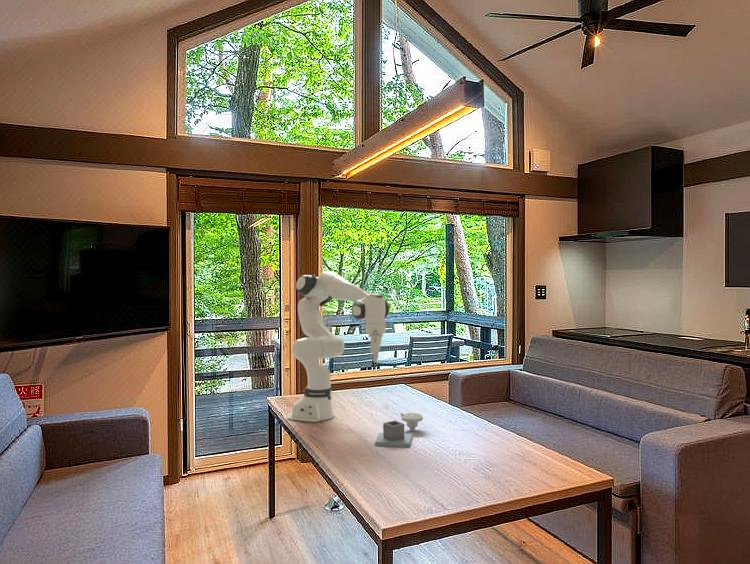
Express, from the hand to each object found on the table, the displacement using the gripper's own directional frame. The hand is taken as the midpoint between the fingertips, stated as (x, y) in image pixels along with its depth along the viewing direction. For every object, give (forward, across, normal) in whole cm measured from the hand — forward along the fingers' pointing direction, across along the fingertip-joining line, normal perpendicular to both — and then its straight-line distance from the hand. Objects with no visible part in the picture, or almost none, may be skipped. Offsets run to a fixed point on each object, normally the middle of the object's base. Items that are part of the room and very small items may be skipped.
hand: (375, 359), depth 235 cm
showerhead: (+31, -4, -16) cm, 35 cm away
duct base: (+30, -19, -8) cm, 37 cm away
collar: (+29, -19, -8) cm, 36 cm away
